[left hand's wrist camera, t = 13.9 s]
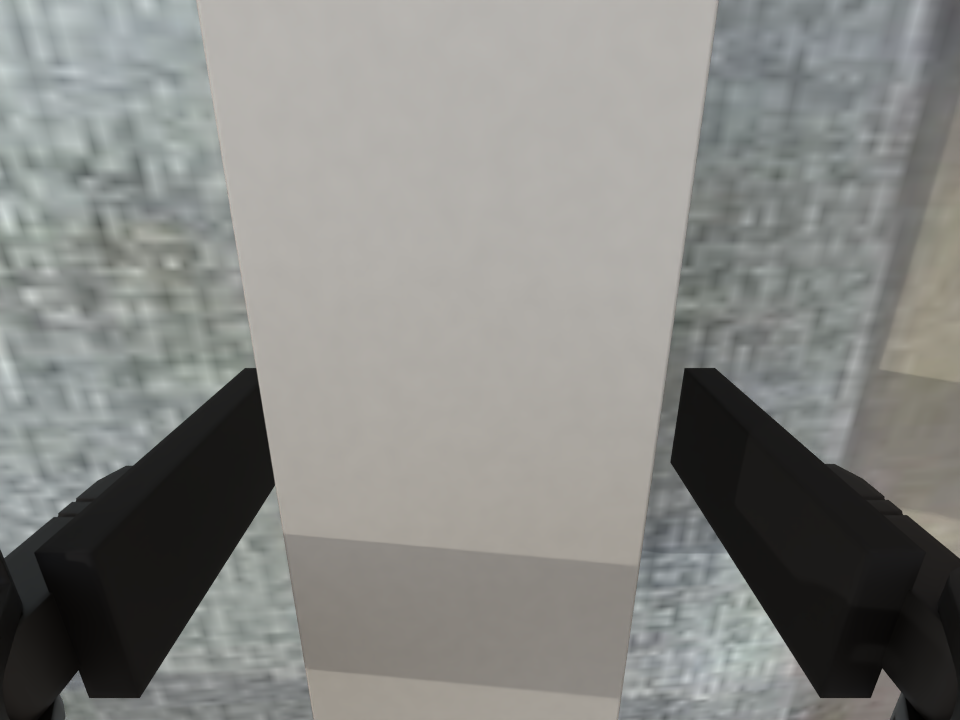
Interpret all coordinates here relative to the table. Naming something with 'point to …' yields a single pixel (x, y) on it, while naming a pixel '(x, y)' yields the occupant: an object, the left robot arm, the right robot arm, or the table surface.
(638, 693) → the table surface
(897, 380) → the table surface
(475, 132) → the post
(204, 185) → the table surface
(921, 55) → the table surface
